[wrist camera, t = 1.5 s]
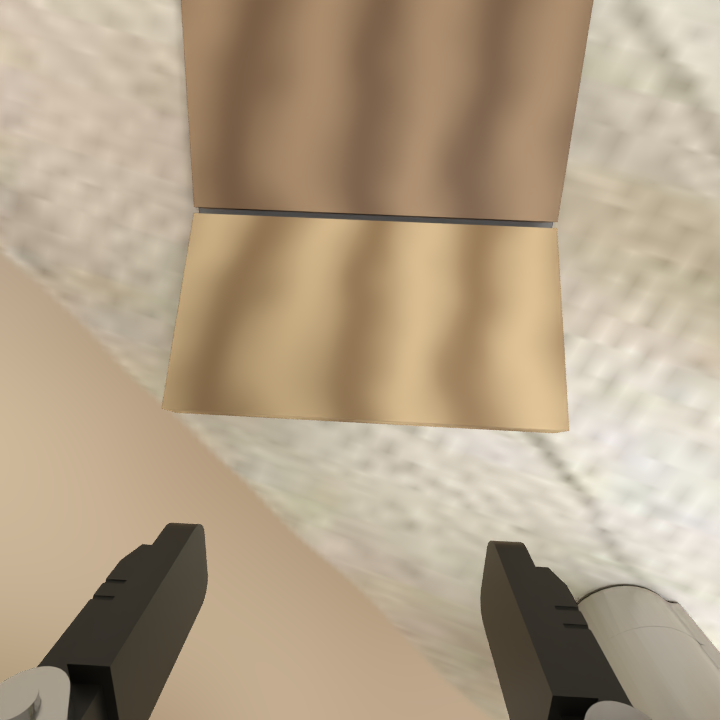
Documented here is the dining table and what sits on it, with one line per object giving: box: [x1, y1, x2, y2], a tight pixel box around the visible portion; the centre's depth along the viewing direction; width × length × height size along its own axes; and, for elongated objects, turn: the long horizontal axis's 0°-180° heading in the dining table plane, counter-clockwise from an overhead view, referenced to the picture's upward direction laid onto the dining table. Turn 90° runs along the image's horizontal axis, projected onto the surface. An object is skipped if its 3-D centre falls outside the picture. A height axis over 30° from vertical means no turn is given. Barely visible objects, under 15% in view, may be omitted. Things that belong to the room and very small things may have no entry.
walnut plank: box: [181, 0, 593, 223], centre depth 25 cm, size 22×12×2 cm, turn 88°
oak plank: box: [162, 213, 569, 433], centre depth 25 cm, size 22×12×2 cm, turn 88°
